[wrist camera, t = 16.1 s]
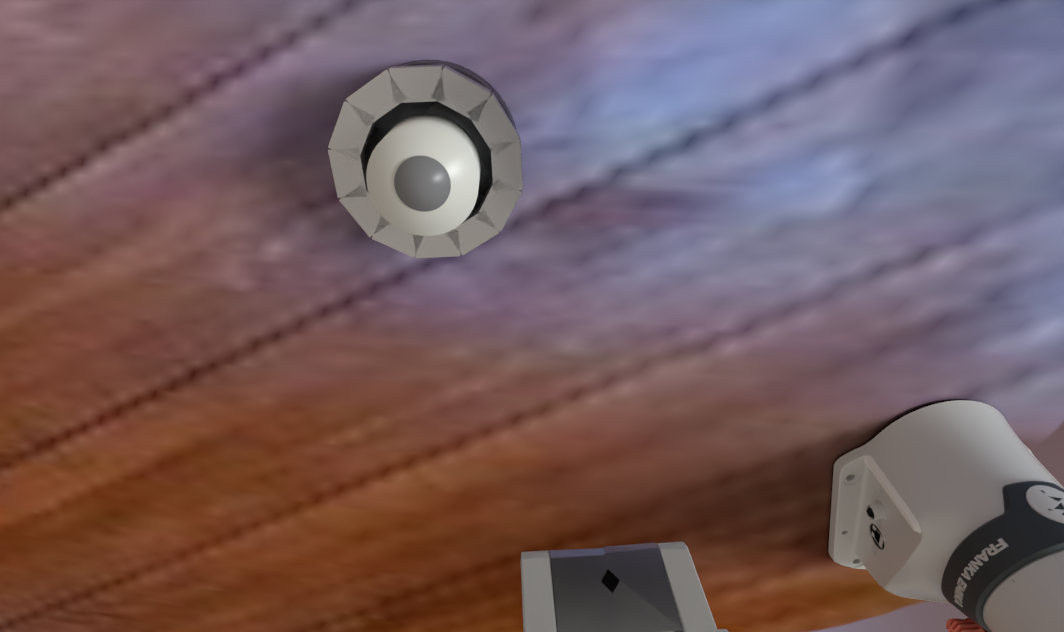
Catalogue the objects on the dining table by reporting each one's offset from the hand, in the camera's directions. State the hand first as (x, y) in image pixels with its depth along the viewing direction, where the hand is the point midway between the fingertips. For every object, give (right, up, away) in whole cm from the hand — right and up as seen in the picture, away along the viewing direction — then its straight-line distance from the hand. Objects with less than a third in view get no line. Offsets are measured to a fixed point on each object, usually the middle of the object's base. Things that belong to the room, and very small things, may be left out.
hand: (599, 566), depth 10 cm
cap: (-7, +14, +23) cm, 28 cm away
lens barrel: (-8, +16, +26) cm, 32 cm away
